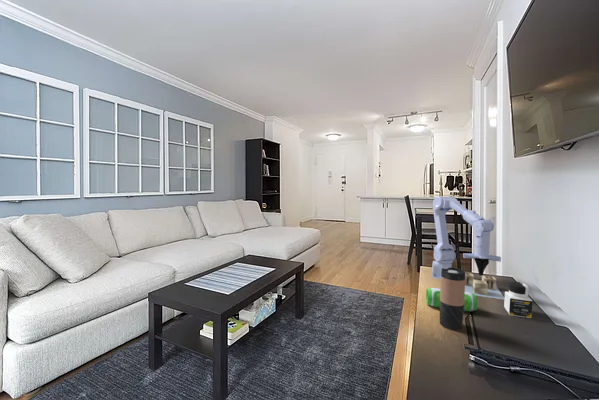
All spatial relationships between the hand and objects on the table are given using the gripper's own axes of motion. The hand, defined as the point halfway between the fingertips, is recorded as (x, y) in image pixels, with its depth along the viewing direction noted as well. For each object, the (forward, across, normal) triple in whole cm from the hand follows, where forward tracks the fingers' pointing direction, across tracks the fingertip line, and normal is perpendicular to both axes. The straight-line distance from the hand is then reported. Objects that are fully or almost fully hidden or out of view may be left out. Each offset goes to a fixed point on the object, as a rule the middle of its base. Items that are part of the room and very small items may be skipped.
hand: (480, 274), depth 131 cm
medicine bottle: (+9, +10, -17) cm, 22 cm away
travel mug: (+9, -15, -39) cm, 43 cm away
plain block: (+8, 0, 0) cm, 8 cm away
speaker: (+9, -14, -23) cm, 28 cm away
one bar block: (+8, -4, +10) cm, 14 cm away
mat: (+9, +1, +5) cm, 10 cm away
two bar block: (+8, +5, +9) cm, 13 cm away
